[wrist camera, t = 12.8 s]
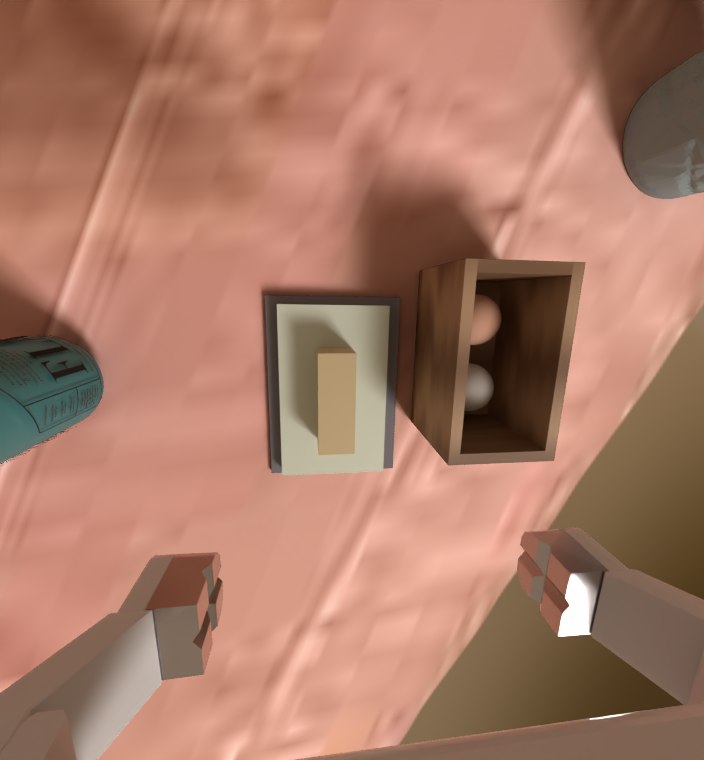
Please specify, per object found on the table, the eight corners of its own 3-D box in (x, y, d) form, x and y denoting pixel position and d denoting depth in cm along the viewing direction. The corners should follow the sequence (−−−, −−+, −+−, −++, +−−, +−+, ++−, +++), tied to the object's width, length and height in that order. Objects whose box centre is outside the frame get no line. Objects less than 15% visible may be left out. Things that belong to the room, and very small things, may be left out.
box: (419, 270, 26) (465, 258, 18) (506, 273, 27) (585, 262, 19) (411, 421, 29) (448, 465, 21) (490, 418, 30) (553, 460, 22)
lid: (278, 304, 25) (272, 304, 21) (386, 305, 26) (400, 306, 22) (283, 468, 28) (278, 496, 24) (380, 464, 29) (391, 491, 25)
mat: (265, 295, 25) (264, 295, 25) (399, 297, 26) (400, 297, 26) (272, 470, 28) (271, 472, 28) (391, 465, 30) (392, 467, 29)
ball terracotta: (443, 294, 26) (463, 293, 23) (488, 295, 27) (515, 294, 23) (439, 341, 27) (458, 347, 23) (483, 342, 27) (508, 347, 24)
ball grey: (438, 359, 27) (457, 368, 24) (481, 359, 28) (506, 367, 24) (435, 403, 28) (452, 418, 25) (477, 402, 28) (500, 416, 25)
